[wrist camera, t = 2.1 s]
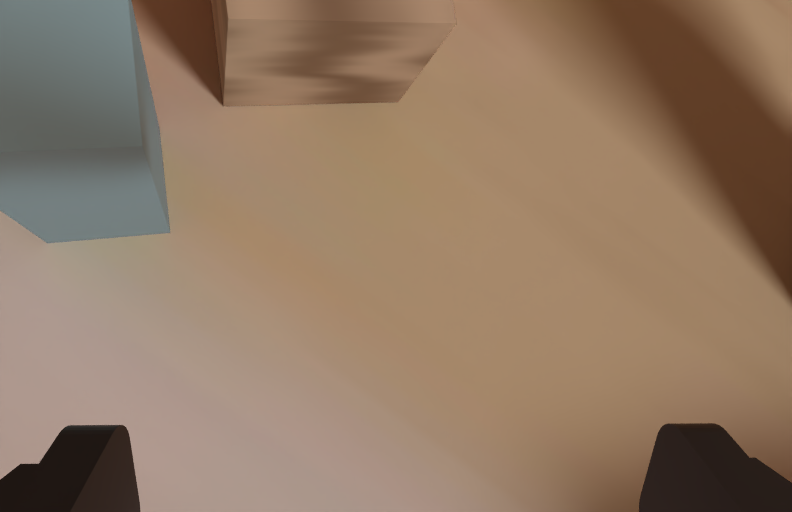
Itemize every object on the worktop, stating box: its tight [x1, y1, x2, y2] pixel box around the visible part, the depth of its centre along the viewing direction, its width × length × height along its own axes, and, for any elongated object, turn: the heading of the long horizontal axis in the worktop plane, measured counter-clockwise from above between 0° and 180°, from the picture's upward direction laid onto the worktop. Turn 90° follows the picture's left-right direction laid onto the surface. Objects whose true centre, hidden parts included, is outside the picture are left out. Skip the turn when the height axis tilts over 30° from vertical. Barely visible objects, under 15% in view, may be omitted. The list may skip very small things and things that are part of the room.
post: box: [0, 0, 170, 243], centre depth 21 cm, size 5×5×12 cm
